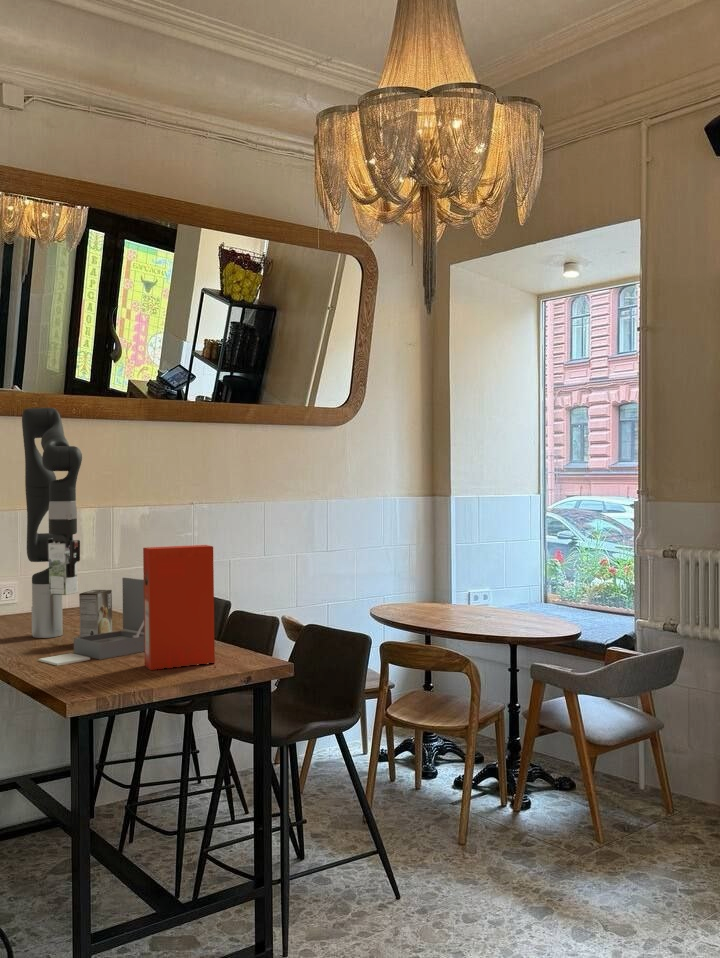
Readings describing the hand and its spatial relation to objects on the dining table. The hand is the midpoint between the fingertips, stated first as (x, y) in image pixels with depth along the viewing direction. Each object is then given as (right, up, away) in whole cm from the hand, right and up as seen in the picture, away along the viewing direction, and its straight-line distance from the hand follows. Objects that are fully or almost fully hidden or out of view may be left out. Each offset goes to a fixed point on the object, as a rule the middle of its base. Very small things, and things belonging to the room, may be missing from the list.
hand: (63, 576), depth 248 cm
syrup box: (0, -5, 0) cm, 5 cm away
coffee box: (+2, -24, +25) cm, 35 cm away
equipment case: (+10, -23, +11) cm, 28 cm away
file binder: (+34, -23, -7) cm, 42 cm away
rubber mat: (0, -24, 0) cm, 24 cm away
